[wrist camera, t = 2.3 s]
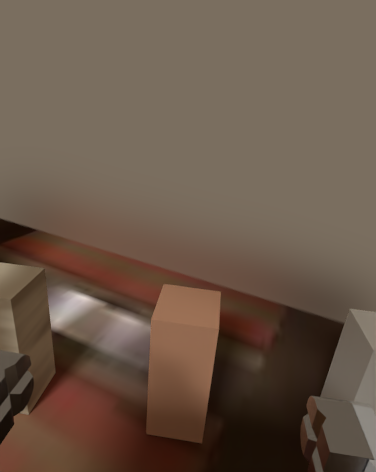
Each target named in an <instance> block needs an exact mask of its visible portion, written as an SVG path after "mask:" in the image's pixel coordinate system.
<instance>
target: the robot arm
mask: <svg viewBox="0 0 376 472" xmlns="http://www.w3.org/2000/svg"><path fill="white" fill-rule="evenodd" d="M30 366H31V360H30V356H28V355H26V354H20V353H14V352H8V351H3V350H0V444H1V443H2V441H3V440H4V438H5V437H6V435H7V434H8V432H9V431H10V429H11V428H12V426H13V425H14V416H15V415H17V414H18V413H20V412H21V411H23V410H24V409H25V407H26V405H27V404H28V402H29V400H30V398H31V395H32V392H33V388H34V379H33V375H32V374H31V373H30V372H29V371H28V369H29V367H30ZM306 406H307V410H308V414H307V415H305V416H304V417H303V420H302V424H301V435H300V437H301V447H302V452H303V456H304V457H305V458H306V459H307V460H308V462H309V463H310V464H309V467H308V470H307V472H376V415H375V413H374V411H373V409H372V407H371V406H370V405H369V404H368V403H361V402H354V401H347V400H340V399H332V398H325V397H317V396H310V398H309V399H308V402H307V405H306Z"/></svg>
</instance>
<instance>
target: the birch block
mask: <svg viewBox="0 0 376 472" xmlns="http://www.w3.org/2000/svg"><path fill="white" fill-rule="evenodd" d="M0 350H3V351H8V352H14V353H20V354H26V355H28V356H30V360H31V366H30V367H29V369H28V371H29V372H30V373H31V374H32V375H33V379H34V388H33V392H32V395H31V398H30V400H29V402H28V404H27V405H26V407H25V409H24V410H23V411H21V412H20V413H22V414H28V415H29V414H30V412H31V411H32V409H33V407H34V406H35V404H36V403H37V401H38V399H39V398H40V396H41V395H42V393H43V392H44V390H45V388H46V387H47V385H48V384H49V382H50V381H51V379H52V377H53V376H54V374H55V373H56V371H55V362H54V352H53V343H52V333H51V324H50V314H49V305H48V295H47V286H46V276H45V268H38V267H30V266H23V265H15V264H8V263H0Z"/></svg>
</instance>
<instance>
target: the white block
mask: <svg viewBox="0 0 376 472" xmlns="http://www.w3.org/2000/svg"><path fill="white" fill-rule="evenodd" d="M320 397H325V398H332V399H340V400H347V401H354V402H361V403H368V404H369V405H370V406H371V407H372V409H373V411H374V413H375V415H376V312H372V311H364V310H356V309H349V312H348V315H347V318H346V321H345V324H344V327H343V330H342V333H341V336H340V339H339V342H338V345H337V348H336V351H335V354H334V357H333V360H332V363H331V366H330V369H329V372H328V375H327V378H326V381H325V384H324V387H323V390H322V393H321V396H320Z"/></svg>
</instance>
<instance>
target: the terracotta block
mask: <svg viewBox="0 0 376 472" xmlns="http://www.w3.org/2000/svg"><path fill="white" fill-rule="evenodd" d="M220 297H221V292H219V291H212V290H204V289H197V288H189V287H182V286H175V285H167V284H164V285H163V288H162V291H161V293H160V296H159V299H158V302H157V305H156V308H155V310H154V313H153V316H152V319H151V337H150V359H149V380H148V402H147V424H146V434H149V435H155V436H161V437H167V438H172V439H178V440H184V441H190V442H196V443H202V440H203V433H204V427H205V420H206V413H207V407H208V400H209V393H210V386H211V380H212V373H213V366H214V359H215V353H216V346H217V339H218V333H219V319H220Z"/></svg>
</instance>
